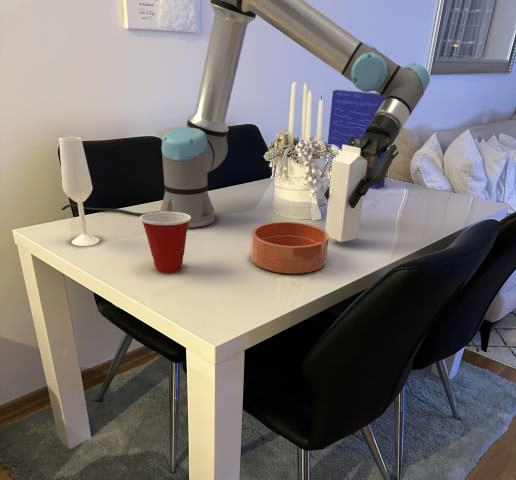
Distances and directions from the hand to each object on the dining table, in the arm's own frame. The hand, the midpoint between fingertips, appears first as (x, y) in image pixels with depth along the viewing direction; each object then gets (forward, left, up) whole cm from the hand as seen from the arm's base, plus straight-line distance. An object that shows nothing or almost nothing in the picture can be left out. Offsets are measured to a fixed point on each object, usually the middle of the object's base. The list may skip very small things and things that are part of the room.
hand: (338, 201), depth 123 cm
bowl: (-14, -9, -11) cm, 20 cm away
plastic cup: (-42, -11, -12) cm, 45 cm away
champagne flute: (-62, +8, -11) cm, 64 cm away
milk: (+2, +1, -10) cm, 10 cm away
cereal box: (+28, +65, -12) cm, 71 cm away
